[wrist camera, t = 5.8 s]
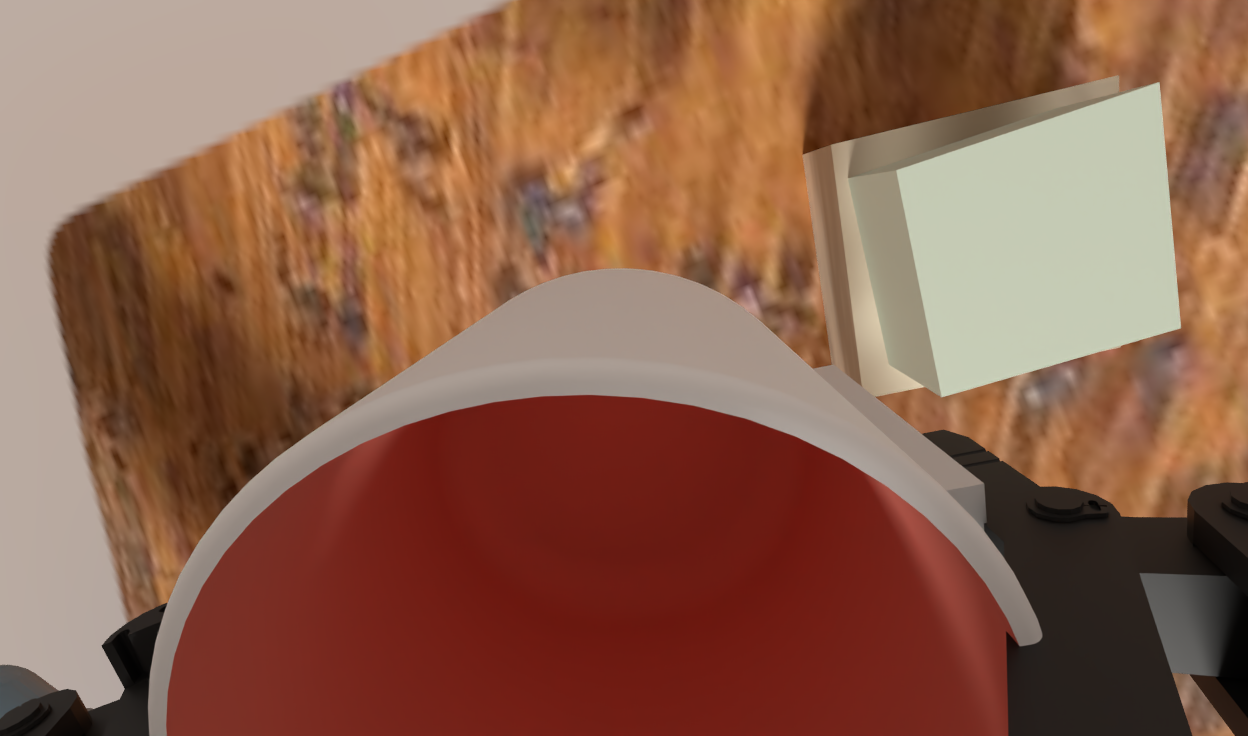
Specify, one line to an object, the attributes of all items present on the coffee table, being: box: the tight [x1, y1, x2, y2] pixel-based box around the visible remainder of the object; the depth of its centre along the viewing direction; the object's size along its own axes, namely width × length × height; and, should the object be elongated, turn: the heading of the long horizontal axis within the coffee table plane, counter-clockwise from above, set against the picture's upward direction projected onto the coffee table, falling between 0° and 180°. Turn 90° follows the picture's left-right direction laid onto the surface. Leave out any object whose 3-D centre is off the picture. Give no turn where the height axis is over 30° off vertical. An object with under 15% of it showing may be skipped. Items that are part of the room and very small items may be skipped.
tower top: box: [848, 82, 1181, 397], centre depth 24 cm, size 9×9×5 cm
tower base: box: [803, 75, 1121, 397], centre depth 28 cm, size 12×12×5 cm
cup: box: [148, 268, 1042, 736], centre depth 11 cm, size 10×10×10 cm
